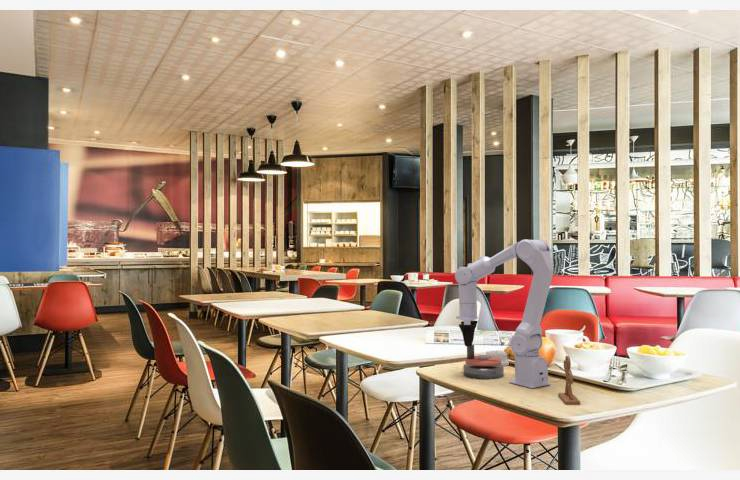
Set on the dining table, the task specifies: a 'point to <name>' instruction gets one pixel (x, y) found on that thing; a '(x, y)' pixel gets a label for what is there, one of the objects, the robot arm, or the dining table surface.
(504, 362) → the mechanical component
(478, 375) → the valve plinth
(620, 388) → the dining table surface
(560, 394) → the brown statuette
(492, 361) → the handwheel
